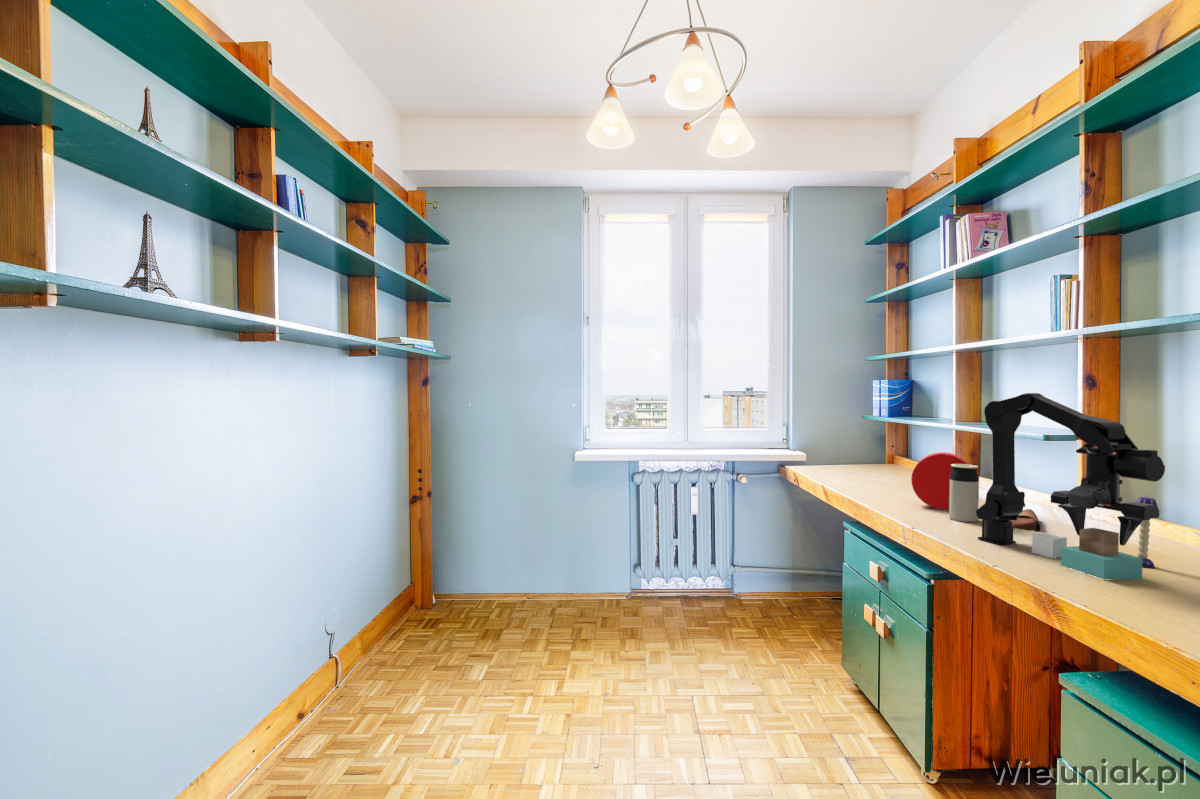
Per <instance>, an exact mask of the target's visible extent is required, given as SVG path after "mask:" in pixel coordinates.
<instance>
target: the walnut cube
mask: <svg viewBox="0 0 1200 799" xmlns="http://www.w3.org/2000/svg"><path fill="white" fill-rule="evenodd" d="M1119 536H1120V532H1116V531H1111V530H1106V529H1102V528H1096V527H1088V528H1084V529H1080V532H1079V536H1078V538H1079V539H1078V541H1079V543H1078V544H1079V545H1078V546H1079V550H1081V551H1085V552H1089V553H1093V554H1097V555H1101V556H1109V555H1117V554H1118V552H1119V545H1120V541H1119Z"/></svg>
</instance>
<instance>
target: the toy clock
mask: <svg viewBox="0 0 1200 799" xmlns="http://www.w3.org/2000/svg"><path fill="white" fill-rule="evenodd" d="M951 464H968V465H971V463H970V462H968V461H967V460H966V459H965V458H963V457H962V456H959V455H957V454H954V453H951V452H936V453H935V452H933V453H931V454H927V456H925V457H924V456H923V458H921V459H920V460H919V461H918V462H917V464H916V465H915V467H914V468H913V471H912V474H911V480H910V481H911V487H912V489H913V491H914V494H915V495H916V496H917V497H918V499H919V500H920V501H921V502H923V503H924V504H926V505H927V506H929V507H931V508H934V509H937V510H941V509H944V510H943V511H949V497H950V473H951V472H952V466H951Z"/></svg>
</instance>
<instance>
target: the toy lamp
mask: <svg viewBox="0 0 1200 799" xmlns="http://www.w3.org/2000/svg"><path fill="white" fill-rule="evenodd" d="M1136 502H1140V503H1146V504H1152V505H1155V506H1156V507H1157V508H1158V509H1159V506H1158V504H1157V500H1156V499H1155V498H1153V497H1146V496H1139V497H1138V498H1137V500H1136ZM1159 516H1160V513H1159ZM1150 521H1151V519H1149V520H1144V521H1142V522H1141V524H1140V525H1139V526H1140V527H1139V533H1138V538H1139V539H1138V546H1137V550H1138V552H1137V557H1140V558H1142V568H1148V569H1149V568H1150V569H1152V568H1153V569H1154V568H1155V564H1154V562H1153V561H1152V560H1151V559H1150V558H1148V554H1149V553H1148V551H1149V545H1150V541H1149V539H1150V534H1149V533H1150V532H1151V529H1150V526H1151V522H1150Z"/></svg>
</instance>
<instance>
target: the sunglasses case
mask: <svg viewBox="0 0 1200 799" xmlns="http://www.w3.org/2000/svg"><path fill="white" fill-rule="evenodd" d="M1011 521H1012V527H1013V529H1015V528H1017V530H1023V529H1025V531H1031V530H1034V531H1033V532H1039V531H1040V530H1041V524H1040V521H1039V518H1038V516H1037V514H1036V513H1035V511H1034V510H1032V509H1031V508H1028V509H1023V511H1022V512H1021V513H1020V514H1019V516H1018V518H1017V520H1016V521H1014V520H1011Z"/></svg>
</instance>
